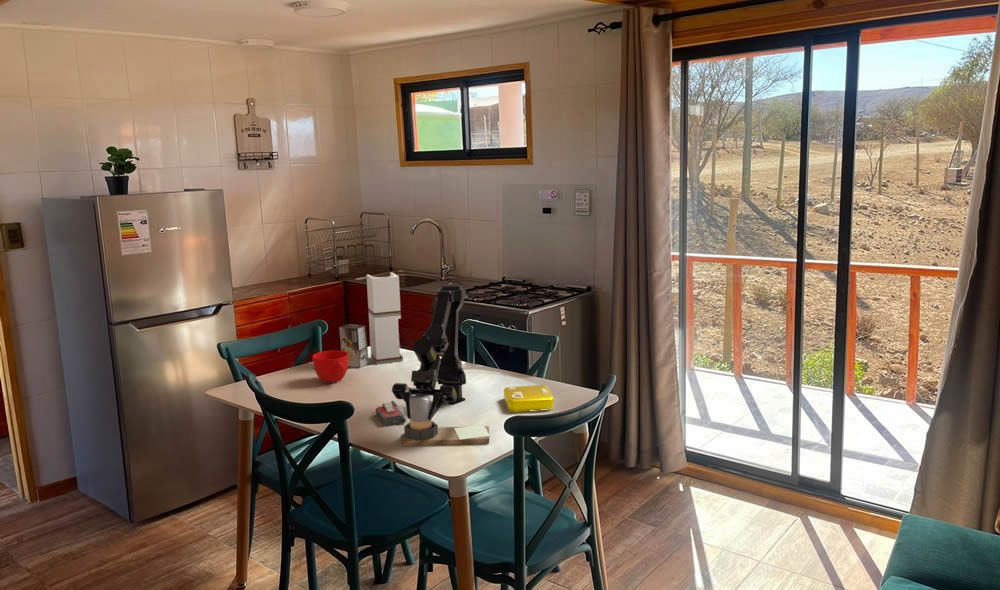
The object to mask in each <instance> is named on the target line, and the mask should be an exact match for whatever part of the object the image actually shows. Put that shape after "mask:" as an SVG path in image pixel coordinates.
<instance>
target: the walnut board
mask: <svg viewBox="0 0 1000 590" xmlns="http://www.w3.org/2000/svg"><path fill="white" fill-rule="evenodd" d="M461 427H462V426H449V427H448V426H445V427H444V426H443V427H442V426H441V427H439V426H438V434H437V435H436V436H435V437H433V438H430V439H425V440H413V439H408V438H407V437H406V436H405V432H403V436H402V440H401V445H402V447H410V446H413V447H414V446H419V447H420V446H446V445H445V444H448V445H449V446H451V445H450V444H456V445H484V444H483V443H489V444H490V437H482V438H473V439H464V440H459V438H458V436H457V434H456V432H455V430H454V428H461ZM484 427H485V428H486V430H487V432H488V433H489V434H490V426H489V425H484ZM440 444H441V445H440Z"/></svg>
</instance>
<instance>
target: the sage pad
mask: <svg viewBox="0 0 1000 590" xmlns="http://www.w3.org/2000/svg"><path fill="white" fill-rule="evenodd" d="M484 426H485V425H471V426H460V427H461V428H454V430H455V432H456V434H457V436H458V438H459V440H464V439H473V438H482V437H489V438H490V437H491V435H490V432H489V433H488V432H487V430H486V428H485V427H484Z"/></svg>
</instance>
